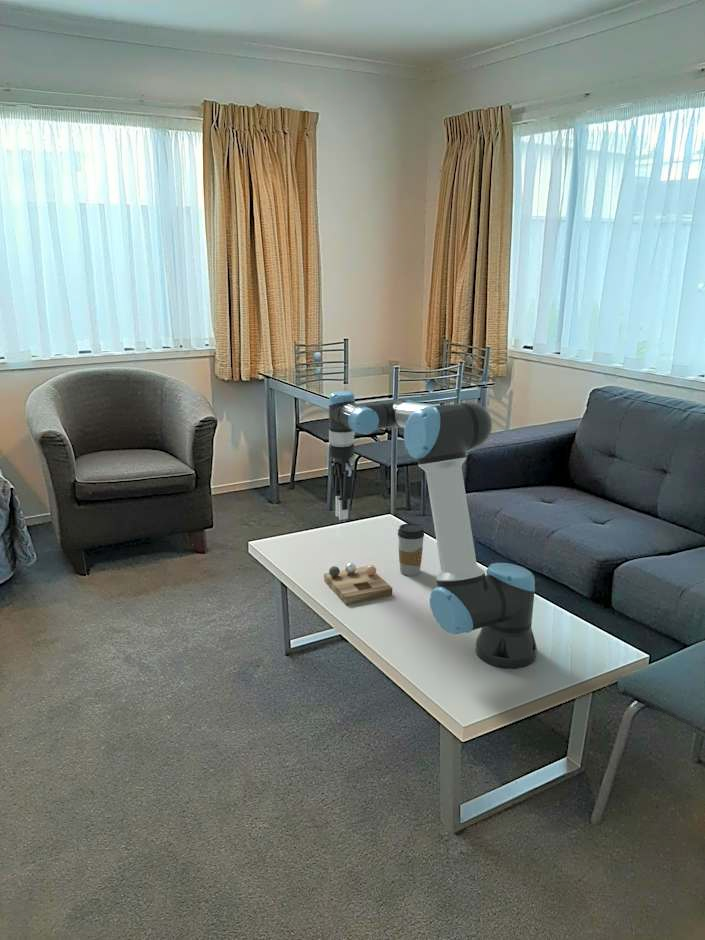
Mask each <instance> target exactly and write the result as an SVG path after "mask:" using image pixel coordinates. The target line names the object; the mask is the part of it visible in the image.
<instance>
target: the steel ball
mask: <svg viewBox="0 0 705 940" xmlns="http://www.w3.org/2000/svg"><path fill="white" fill-rule="evenodd" d="M356 568H357V566H356V564H355V563H353V562H349V563H347V564H345V567H344V570H345V571H346V572H347V573H348V574H353V573H354V572H355V571H356Z"/></svg>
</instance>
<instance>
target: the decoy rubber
mask: <svg viewBox="0 0 705 940" xmlns="http://www.w3.org/2000/svg"><path fill="white" fill-rule="evenodd" d="M340 571H341V570H340V568H339V567H338V566H336V565H335V566H331V567H330V568H329V569H328V573H330V575H331V576H333V577H336V576H338V575H339V573H340Z"/></svg>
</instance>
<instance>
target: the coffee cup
mask: <svg viewBox="0 0 705 940" xmlns="http://www.w3.org/2000/svg"><path fill="white" fill-rule="evenodd" d="M397 536H398V537H397V538H398V561H399V571H400V574H402V575H404V576H407V577H410V576H411V577H412V576H413V577H414V576H418V574H420V573H421V567H422V565H421V564H422V556H423V549H424V548H423V545H424V536H425V530H424V527H423V526H422V525H421V524H418V523H413V522H412V523H410V522H407V523H404V524H400V526H399V529H397Z"/></svg>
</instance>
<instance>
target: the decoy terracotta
mask: <svg viewBox="0 0 705 940" xmlns="http://www.w3.org/2000/svg"><path fill="white" fill-rule="evenodd" d="M366 566H367V568H366V573H367V574H368V575H370V576H372V575H374V574H375V573H377V568H376V566H374V565H372V564H370V565H366Z"/></svg>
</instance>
